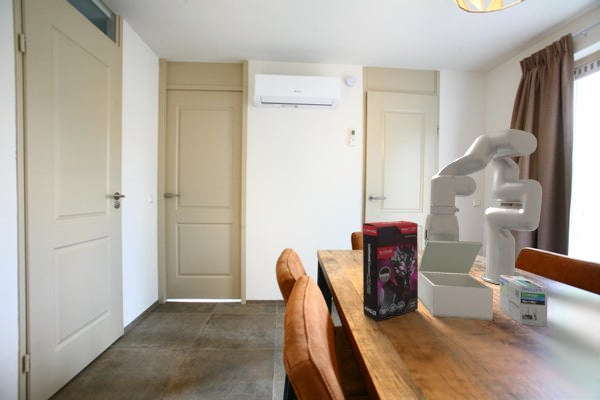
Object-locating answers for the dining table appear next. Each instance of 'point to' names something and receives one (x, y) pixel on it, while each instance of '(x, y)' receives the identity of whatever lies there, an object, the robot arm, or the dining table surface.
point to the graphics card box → (390, 268)
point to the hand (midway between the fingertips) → (440, 263)
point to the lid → (449, 256)
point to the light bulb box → (523, 300)
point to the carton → (455, 296)
